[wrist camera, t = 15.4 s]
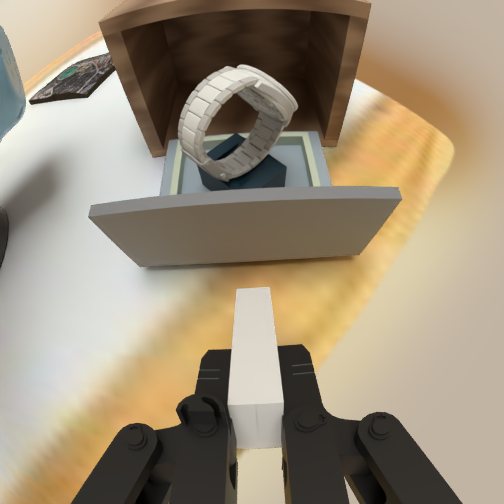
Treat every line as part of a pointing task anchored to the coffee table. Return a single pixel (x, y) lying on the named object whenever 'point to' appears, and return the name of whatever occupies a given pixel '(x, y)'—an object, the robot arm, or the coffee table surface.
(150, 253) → the drawer tray
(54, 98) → the terrain model
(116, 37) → the watch cabinet
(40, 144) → the coffee table surface
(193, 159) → the watch
